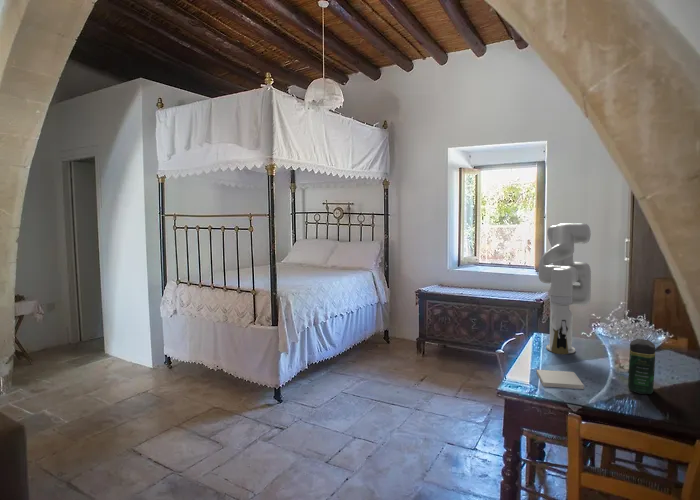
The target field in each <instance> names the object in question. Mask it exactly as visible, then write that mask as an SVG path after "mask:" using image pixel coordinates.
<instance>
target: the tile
mask: <svg viewBox="0 0 700 500" xmlns="http://www.w3.org/2000/svg"><path fill="white" fill-rule="evenodd" d="M536 375H537V377H538V379H539V381H540V383H541V384H542V386H543V387H550V388H564V389H579V390H584V389H585V386H584V383H583V382H582V381H581V379H580V378H579V377H578V376H577V374H576V373H575V372H574V371H566V370H565V371H563V370H548V369H545V370H544V369H536Z"/></svg>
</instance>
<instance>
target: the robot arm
mask: <svg viewBox="0 0 700 500" xmlns="http://www.w3.org/2000/svg"><path fill="white" fill-rule="evenodd" d="M591 234H592V233H591V228H590V225H589V224H587V223H584V222H582V223H581V222H578V223H577V222H571V223H570V222H563V223H559V224H555V225H551V226H549V227H548V228H547V239H548V242H549V245H550V247H551V248H549V249H548V250H546V252H544V253H543V254H542V256H541V257H540V259H539V263H538V279H539V281H540V282H541V283H543V284H550V287H549V289H548V296H549V297H548V298H549V304H550V305H549V306H550V309H549V310H550V316H549V317H550V318H549V319H550V320H549V321H550V322H549V343H548V344H547V345H546V346H545V348H546V350H548V352H551V350H552V344H553V338H554V330H553V328H554V329H555V330H556V331H557V330H558V338H557V348H560V347H563V348H564V349H566V336H567V345H568V354H574V353H575V352H576V348H575V347H574V346H572V345H573V318H574V317H573V312H572V311H571V309H570V306H581V307H586V306H588V305H589V304H590V302H591V291H592V290H591V286H592V285H591V284H592V283H591V282H592V271H591V266H590V264H588V262H585V261H574V253H575V244H579V245H580V244H582V245H584V244H588V242H589V241H590V239H591ZM575 283H578V284H575ZM566 326H567V328H566ZM560 329H562V330H560ZM566 331H567V332H566ZM560 332H562V333H560ZM568 354H567V355H568Z"/></svg>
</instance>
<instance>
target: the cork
mask: <svg viewBox="0 0 700 500" xmlns="http://www.w3.org/2000/svg"><path fill="white" fill-rule="evenodd" d="M566 328H567V326H566ZM553 330H554V338H553V344H552V350H551V351H550V352H551V353H553V354H558V355H568V345H567V336H566V349H564V348H563V347H560V348H557V338H558V330H557V331H556V330H555V329H554V328H553ZM560 330H562V329H560ZM566 332H567V331H566ZM560 333H562V332H560Z"/></svg>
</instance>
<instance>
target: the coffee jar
mask: <svg viewBox="0 0 700 500" xmlns="http://www.w3.org/2000/svg"><path fill="white" fill-rule="evenodd" d="M628 360H629V362H628V376H627V377H628V378H627V382H628V383H627V388H628V390H629V391H632V392H634V393H636V394H641V395H651V394H652V393H653V392H654V385H655V384H654V383H655V370H656V369H655V367H656V345H655V343H653V342H652V341H650V340H649V339H642V338H636V339H633V340H631V341H630V343H629V359H628Z"/></svg>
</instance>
